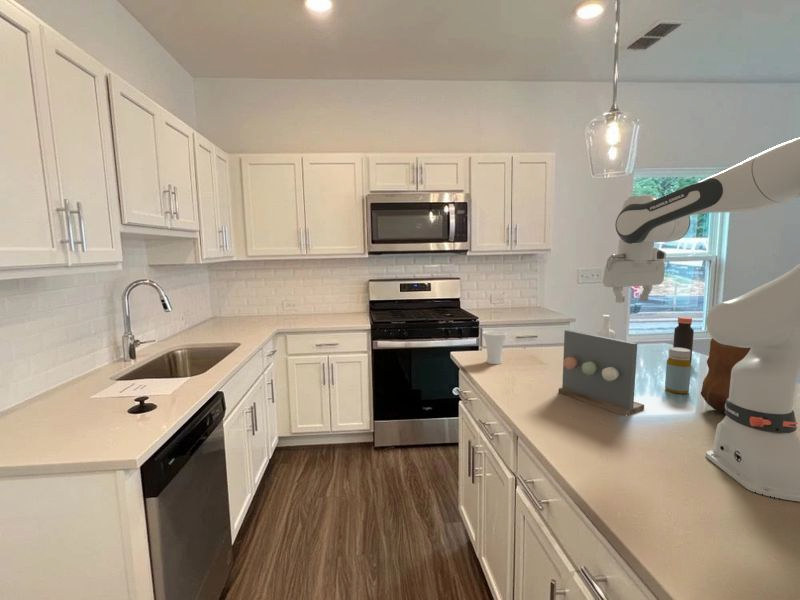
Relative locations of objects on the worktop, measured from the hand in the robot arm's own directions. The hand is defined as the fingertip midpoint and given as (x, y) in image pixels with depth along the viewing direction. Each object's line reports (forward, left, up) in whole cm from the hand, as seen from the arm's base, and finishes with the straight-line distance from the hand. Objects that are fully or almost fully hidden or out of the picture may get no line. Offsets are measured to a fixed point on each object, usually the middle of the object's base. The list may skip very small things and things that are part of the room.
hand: (632, 301), depth 119 cm
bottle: (+28, -22, -35) cm, 50 cm away
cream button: (+2, +4, -25) cm, 25 cm away
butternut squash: (+10, -30, -35) cm, 47 cm away
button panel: (+11, +6, -35) cm, 37 cm away
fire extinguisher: (+34, 0, -35) cm, 48 cm away
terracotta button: (+12, +15, -25) cm, 31 cm away
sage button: (+7, +9, -25) cm, 27 cm away
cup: (+49, +42, -35) cm, 73 cm away
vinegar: (+67, -36, -35) cm, 83 cm away
